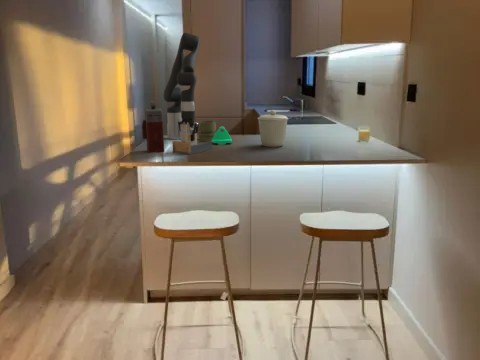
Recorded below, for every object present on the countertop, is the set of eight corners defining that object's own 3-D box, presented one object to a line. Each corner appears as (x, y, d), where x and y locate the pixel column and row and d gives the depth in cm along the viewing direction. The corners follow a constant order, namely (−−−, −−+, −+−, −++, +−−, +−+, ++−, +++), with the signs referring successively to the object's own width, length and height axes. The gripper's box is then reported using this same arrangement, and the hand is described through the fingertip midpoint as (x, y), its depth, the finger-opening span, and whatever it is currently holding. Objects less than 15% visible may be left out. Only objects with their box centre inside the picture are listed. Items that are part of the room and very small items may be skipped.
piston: (200, 122, 286) (196, 121, 296) (201, 141, 289) (196, 139, 299) (217, 122, 289) (213, 120, 300) (218, 140, 292) (213, 138, 303)
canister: (251, 146, 271) (251, 110, 266) (270, 142, 284) (270, 108, 279) (275, 149, 259) (275, 112, 254) (294, 145, 272) (294, 109, 267)
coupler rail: (172, 152, 254) (172, 141, 253) (197, 147, 269) (196, 137, 268) (188, 154, 247) (188, 143, 245) (212, 149, 262) (212, 138, 261)
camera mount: (212, 145, 278) (211, 128, 275) (212, 143, 285) (212, 126, 283) (231, 144, 278) (231, 127, 276) (231, 142, 286) (231, 126, 283)
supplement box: (191, 145, 260) (190, 122, 257) (197, 146, 257) (196, 123, 254) (180, 147, 254) (179, 124, 251) (186, 148, 251) (186, 125, 248)
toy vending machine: (143, 150, 261) (139, 100, 254) (162, 149, 263) (160, 100, 257) (143, 153, 252) (140, 101, 245) (164, 152, 255) (161, 101, 248)
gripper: (173, 109, 252) (175, 140, 256) (192, 111, 243) (193, 142, 247) (183, 108, 258) (184, 138, 262) (202, 109, 249) (203, 140, 253)
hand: (189, 140), depth 255 cm, fingers closed on supplement box, 5 cm apart
